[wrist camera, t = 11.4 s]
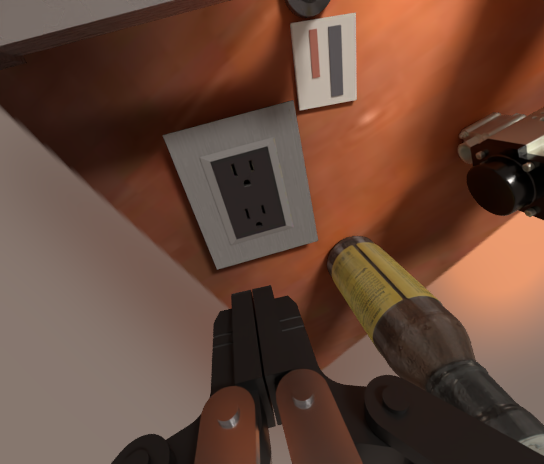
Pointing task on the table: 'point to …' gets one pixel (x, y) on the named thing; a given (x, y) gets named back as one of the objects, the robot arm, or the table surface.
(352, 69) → the label plate
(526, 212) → the pneumatic valve
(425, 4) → the table surface
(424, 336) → the sauce bottle
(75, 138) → the table surface
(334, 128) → the table surface
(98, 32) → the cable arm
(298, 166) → the electrical outlet
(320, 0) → the arm post
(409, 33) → the table surface
